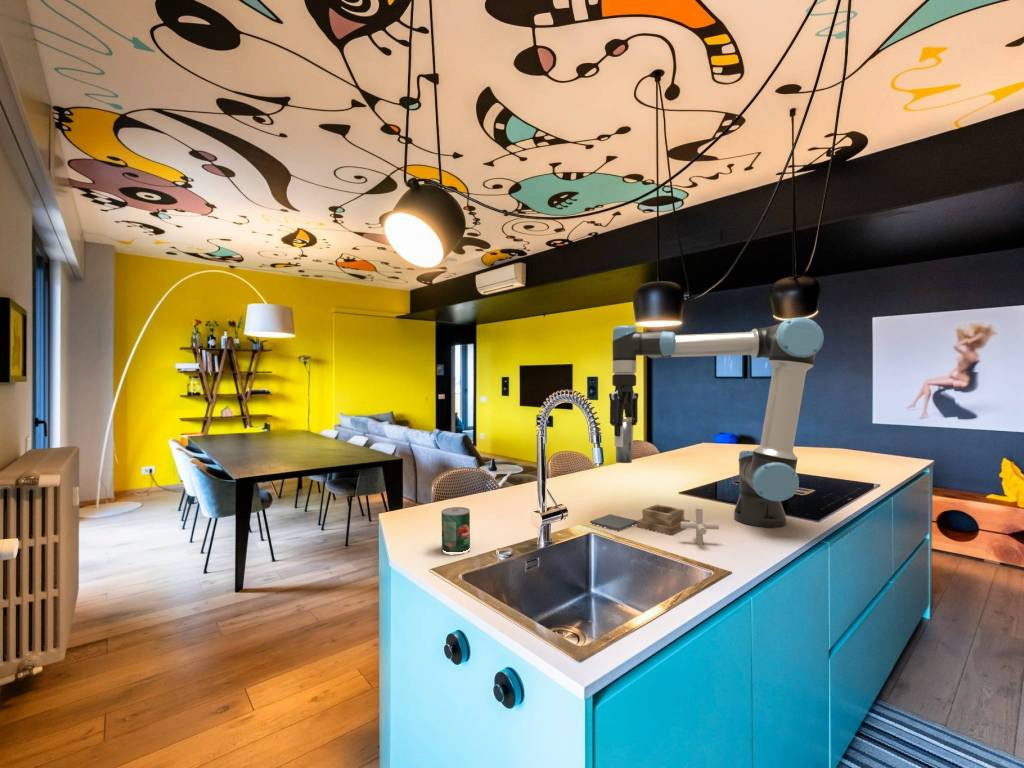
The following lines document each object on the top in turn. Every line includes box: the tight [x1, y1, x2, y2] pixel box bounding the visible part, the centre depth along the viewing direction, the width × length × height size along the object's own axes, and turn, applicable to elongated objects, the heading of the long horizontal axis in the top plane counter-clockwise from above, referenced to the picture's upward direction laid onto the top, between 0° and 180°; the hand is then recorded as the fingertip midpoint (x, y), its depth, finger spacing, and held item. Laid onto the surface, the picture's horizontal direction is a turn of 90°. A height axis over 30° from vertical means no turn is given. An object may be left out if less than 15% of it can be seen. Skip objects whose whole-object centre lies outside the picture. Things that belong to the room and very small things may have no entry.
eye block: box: [635, 504, 691, 536], centre depth 147 cm, size 12×12×6 cm
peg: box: [615, 416, 633, 464], centre depth 151 cm, size 5×5×14 cm
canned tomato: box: [440, 506, 471, 552], centre depth 129 cm, size 8×8×11 cm
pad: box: [589, 513, 637, 532], centre depth 151 cm, size 11×11×1 cm
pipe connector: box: [680, 507, 720, 545], centre depth 132 cm, size 10×10×10 cm
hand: (623, 445), depth 151 cm, fingers closed on peg, 5 cm apart
